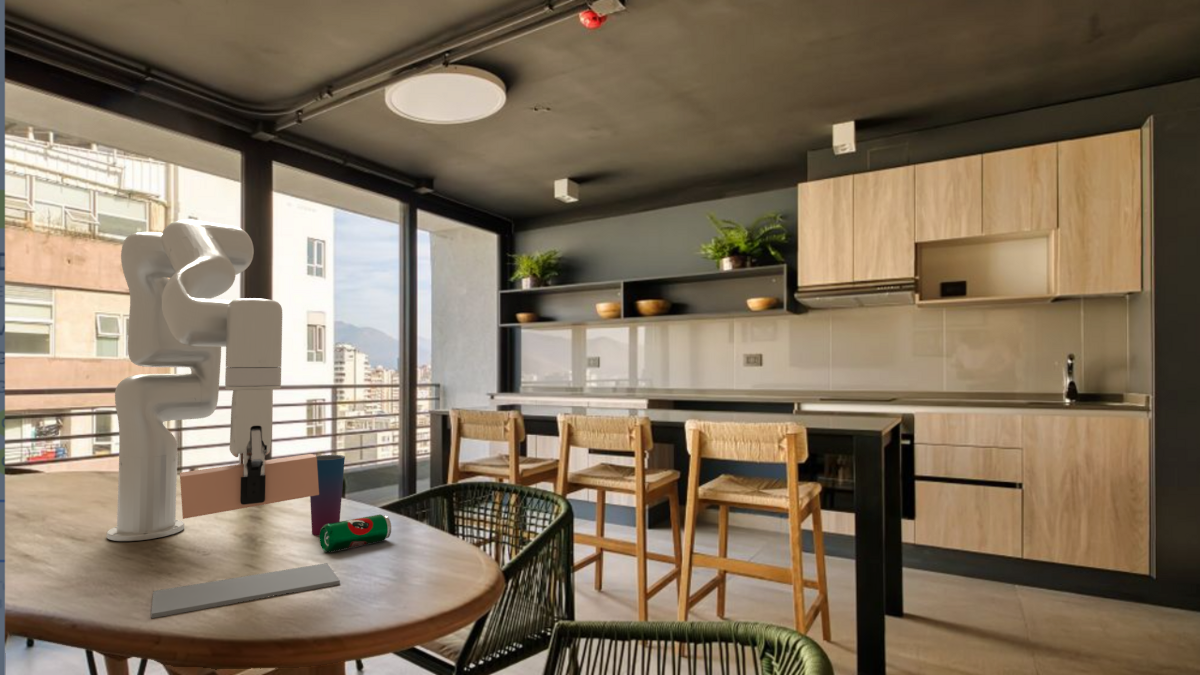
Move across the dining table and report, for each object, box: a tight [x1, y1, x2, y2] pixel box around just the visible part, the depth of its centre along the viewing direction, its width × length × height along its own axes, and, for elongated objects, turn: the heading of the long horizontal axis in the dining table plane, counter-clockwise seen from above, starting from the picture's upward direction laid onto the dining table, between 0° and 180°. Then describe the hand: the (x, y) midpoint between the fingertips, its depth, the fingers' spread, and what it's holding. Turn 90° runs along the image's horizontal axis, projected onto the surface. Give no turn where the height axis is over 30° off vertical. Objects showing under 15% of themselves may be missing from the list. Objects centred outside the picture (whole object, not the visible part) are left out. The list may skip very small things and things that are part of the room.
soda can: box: [318, 514, 392, 554], centre depth 119 cm, size 5×5×12 cm
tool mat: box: [150, 563, 341, 619], centre depth 97 cm, size 10×24×1 cm, turn 124°
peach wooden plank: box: [179, 453, 319, 520], centre depth 97 cm, size 4×18×6 cm, turn 124°
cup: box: [309, 454, 346, 536], centre depth 129 cm, size 7×7×15 cm
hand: (251, 498), depth 97 cm, fingers closed on peach wooden plank, 4 cm apart
